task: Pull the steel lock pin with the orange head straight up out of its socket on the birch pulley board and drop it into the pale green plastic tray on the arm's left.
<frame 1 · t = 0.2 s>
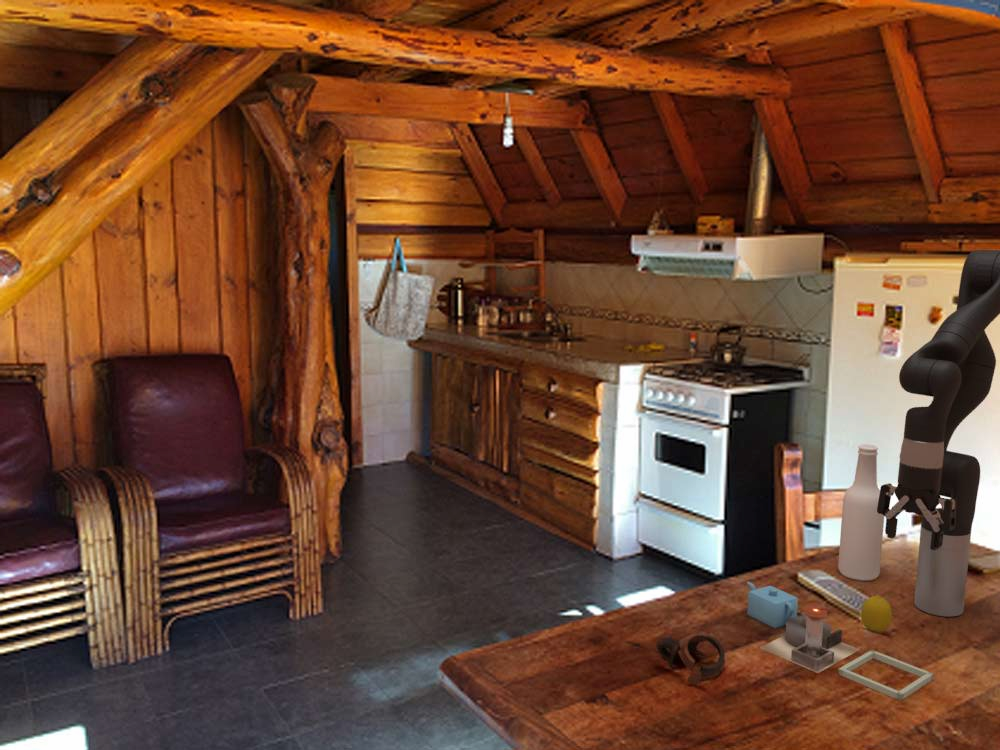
hand: (912, 543, 174), 17 cm above the table, tool pointing down, fingers open, 8 cm apart
lock pin: (812, 661, 160), point 1 cm above the table, touching pulley board
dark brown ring: (689, 673, 159), on the table
alcohol: (858, 575, 204), on the table
tray: (884, 684, 155), on the table
lemon: (874, 635, 174), on the table
teapot: (767, 624, 179), on the table
pulley board: (809, 656, 165), on the table
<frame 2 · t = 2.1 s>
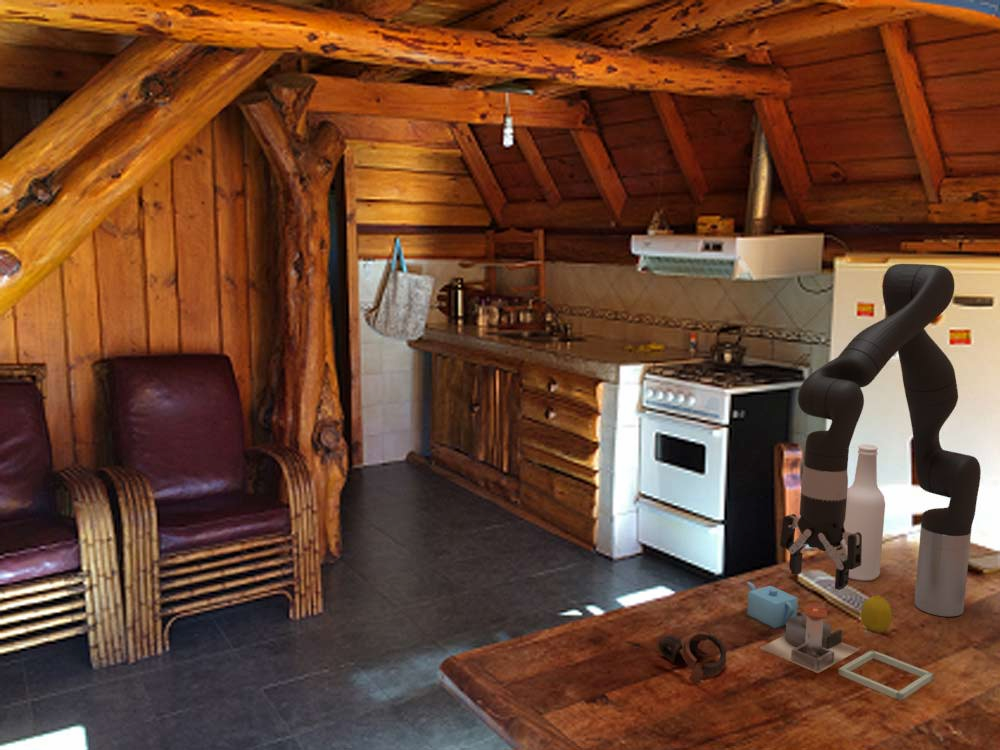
hand: (817, 580, 157), 17 cm above the table, tool pointing down, fingers open, 8 cm apart
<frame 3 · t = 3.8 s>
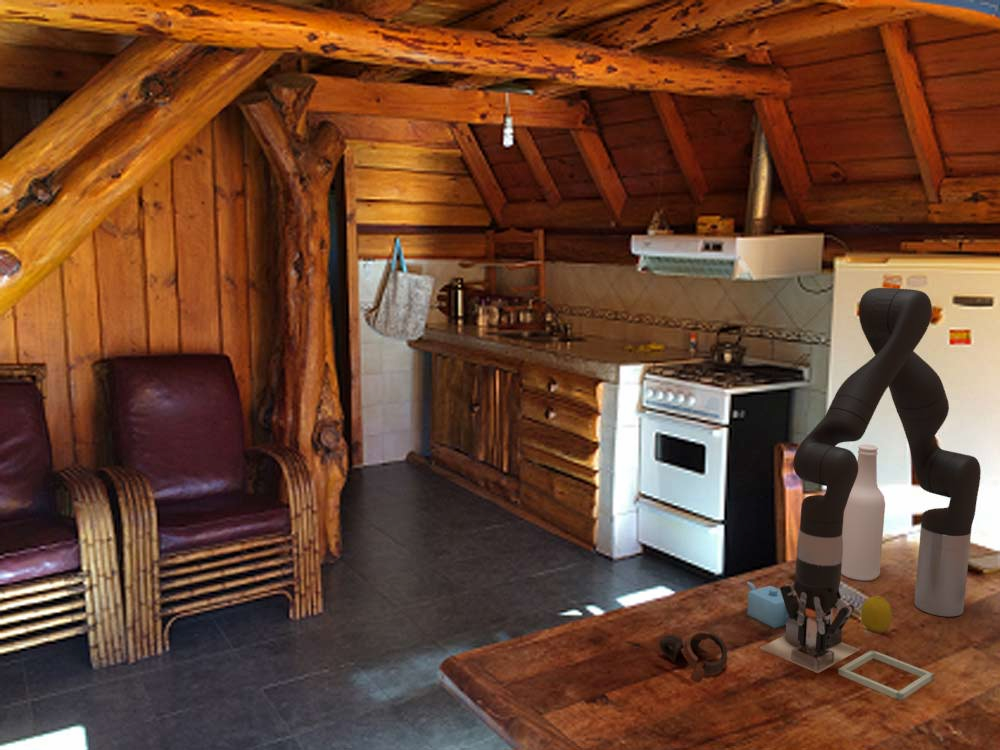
hand: (812, 647, 160), 4 cm above the table, tool pointing down, fingers closed on lock pin, 2 cm apart
lock pin: (812, 661, 160), point 1 cm above the table, touching gripper, pulley board
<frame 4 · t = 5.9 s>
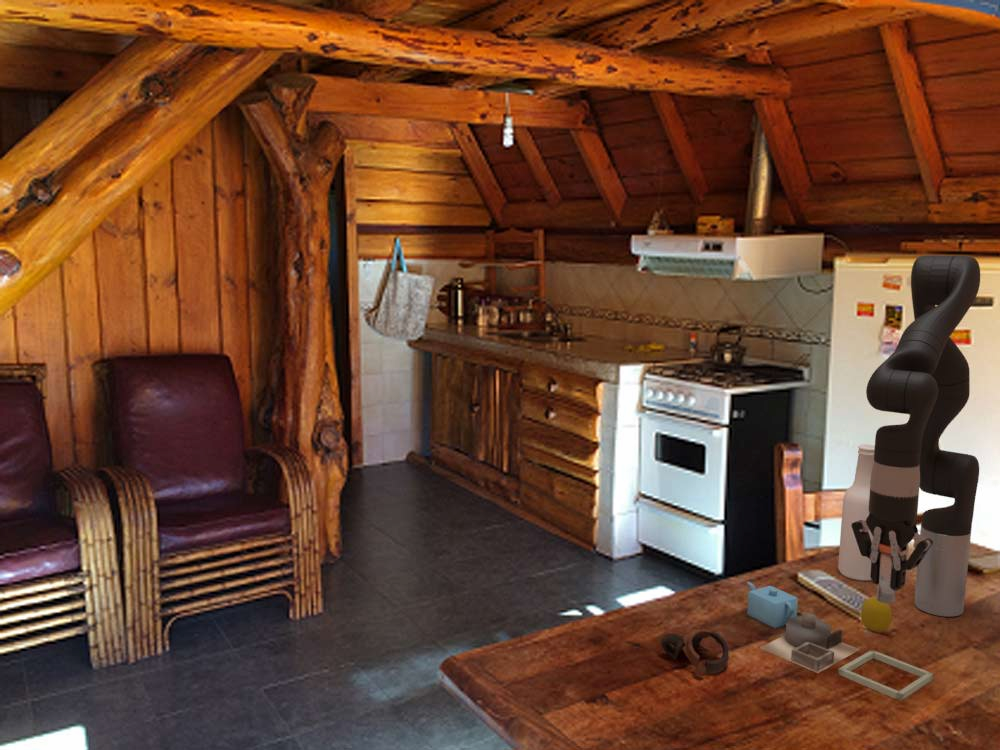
hand: (886, 585, 153), 18 cm above the table, tool pointing down, fingers closed on lock pin, 2 cm apart
lock pin: (885, 600, 153), point 15 cm above the table, touching gripper
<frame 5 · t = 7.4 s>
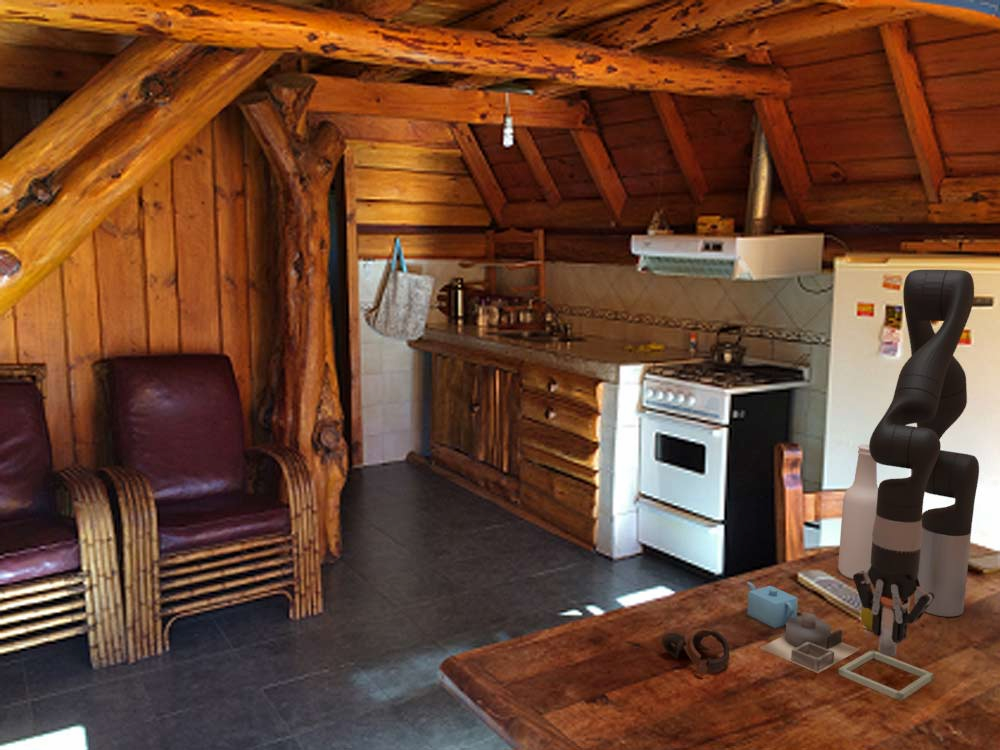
hand: (888, 637, 153), 9 cm above the table, tool pointing down, fingers closed on lock pin, 2 cm apart
lock pin: (887, 652, 154), point 6 cm above the table, touching gripper
when the fingers open (5 cm above the table, at t = 8.3 s): lock pin drops 2 cm, resting on tray.
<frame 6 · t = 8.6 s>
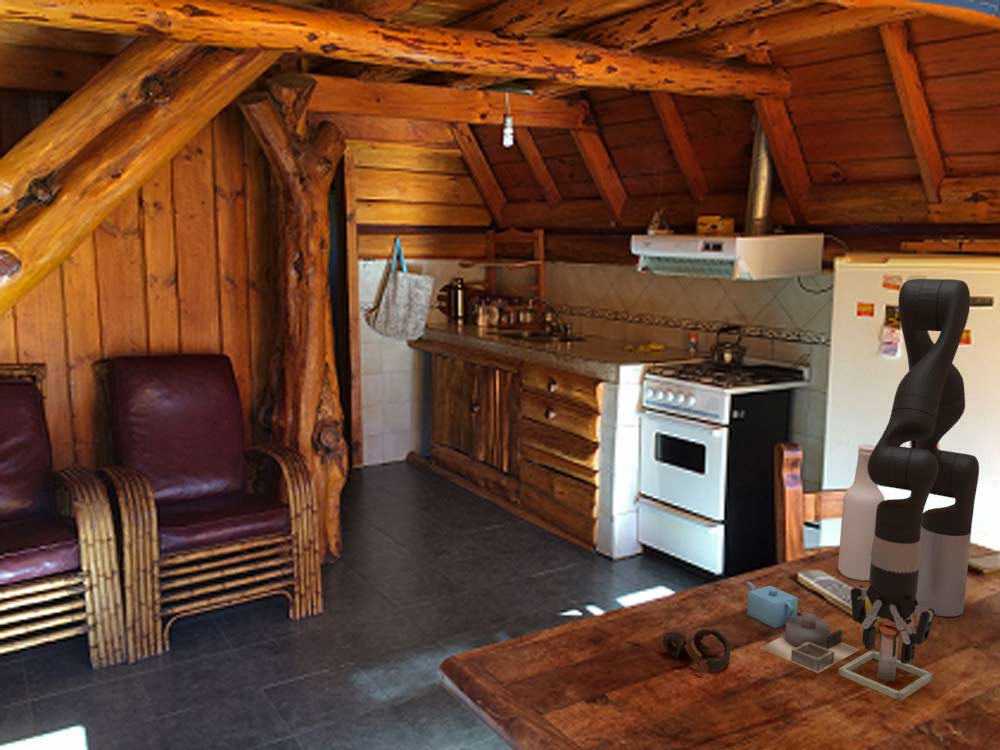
hand: (887, 654, 154), 6 cm above the table, tool pointing down, fingers open, 6 cm apart
lock pin: (885, 680, 155), point 1 cm above the table, touching tray
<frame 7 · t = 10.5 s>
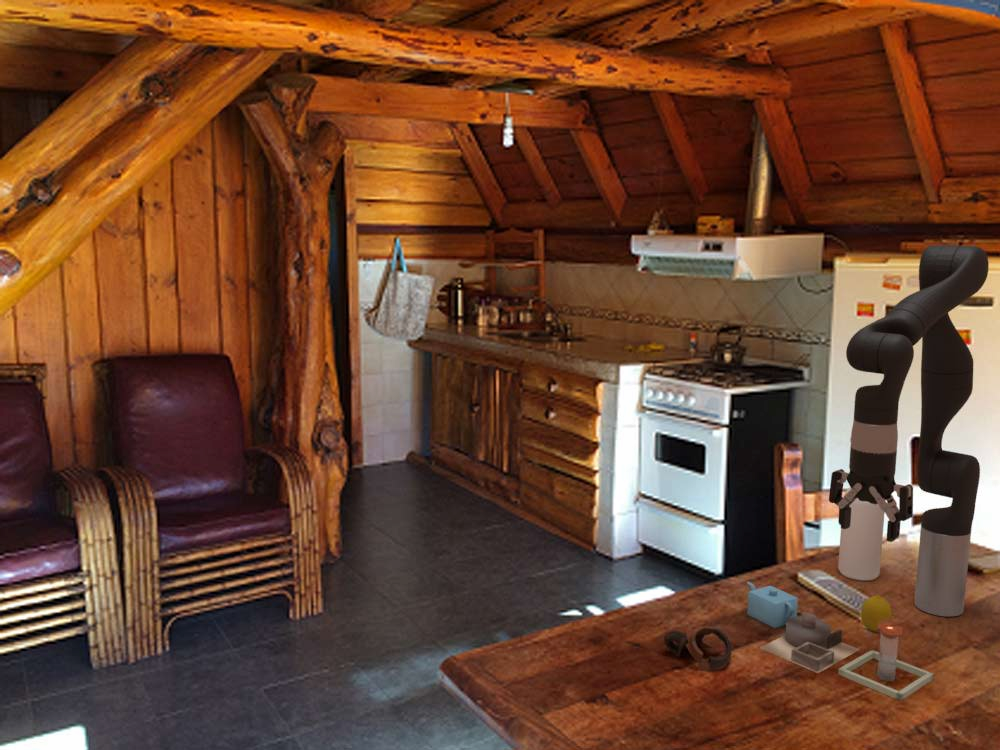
hand: (867, 534, 159), 24 cm above the table, tool pointing down, fingers open, 8 cm apart
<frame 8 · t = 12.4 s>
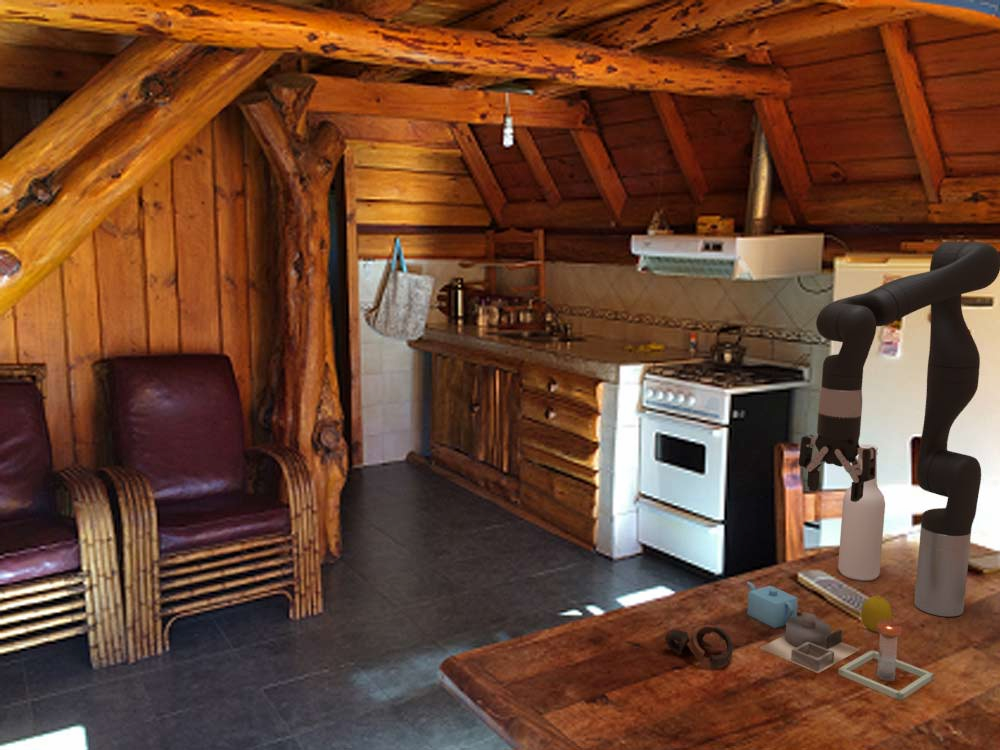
hand: (833, 495, 169), 28 cm above the table, tool pointing down, fingers open, 8 cm apart
at the end: lock pin inside the target area on the tray (0.1 cm from its centre), point 0.8 cm above the tray's base; the gripper is holding nothing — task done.
